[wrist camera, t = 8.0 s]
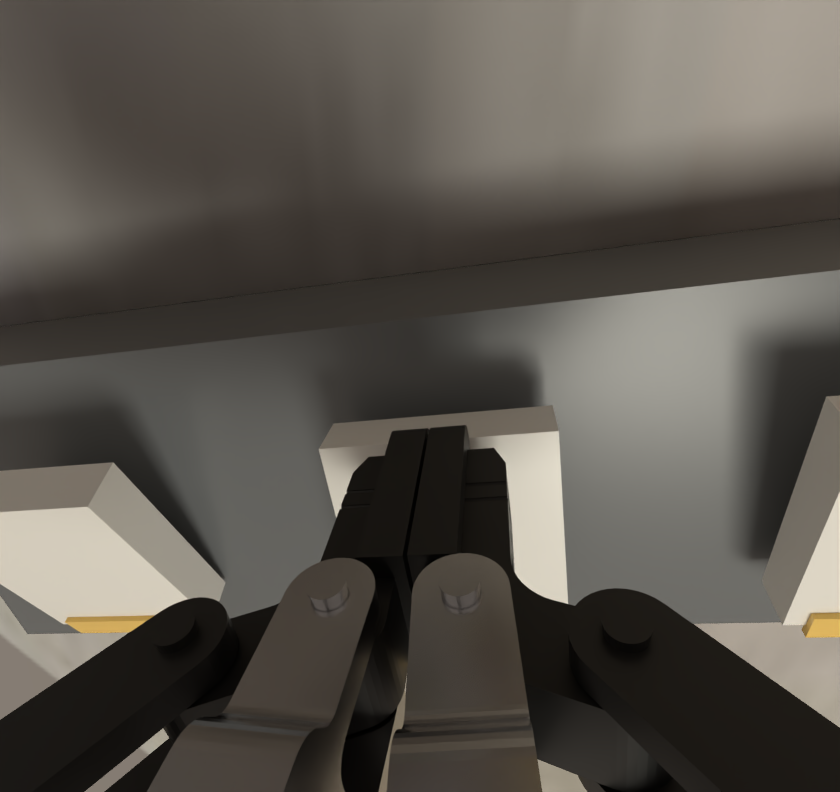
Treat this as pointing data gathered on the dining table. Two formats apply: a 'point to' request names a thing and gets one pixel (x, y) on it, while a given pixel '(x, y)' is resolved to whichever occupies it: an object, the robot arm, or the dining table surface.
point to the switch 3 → (811, 537)
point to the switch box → (465, 404)
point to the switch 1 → (94, 549)
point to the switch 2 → (526, 474)
